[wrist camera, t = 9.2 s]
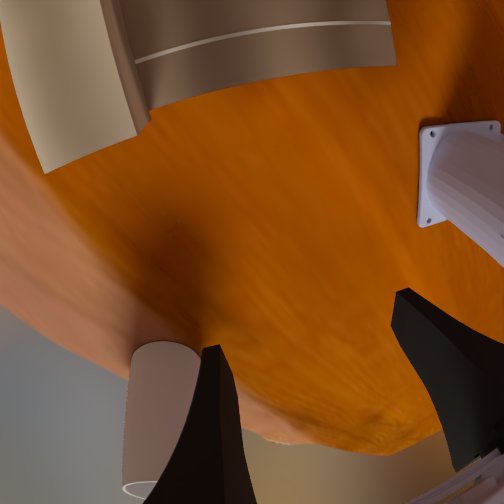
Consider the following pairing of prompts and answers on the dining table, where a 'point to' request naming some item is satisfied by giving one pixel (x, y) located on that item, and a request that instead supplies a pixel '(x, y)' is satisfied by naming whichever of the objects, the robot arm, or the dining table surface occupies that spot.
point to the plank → (249, 41)
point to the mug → (155, 411)
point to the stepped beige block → (73, 76)
